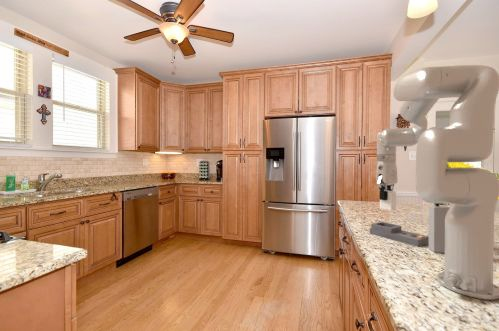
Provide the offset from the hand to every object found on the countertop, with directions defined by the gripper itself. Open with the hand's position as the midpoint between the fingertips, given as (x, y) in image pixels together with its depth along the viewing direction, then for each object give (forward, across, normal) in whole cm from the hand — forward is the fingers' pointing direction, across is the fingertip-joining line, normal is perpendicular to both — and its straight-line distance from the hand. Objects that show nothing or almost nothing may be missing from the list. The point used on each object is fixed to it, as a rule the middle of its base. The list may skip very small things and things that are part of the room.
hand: (386, 199), depth 107 cm
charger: (+4, 0, -1) cm, 4 cm away
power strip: (+17, 0, -4) cm, 17 cm away
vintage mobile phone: (+17, -4, -21) cm, 27 cm away
